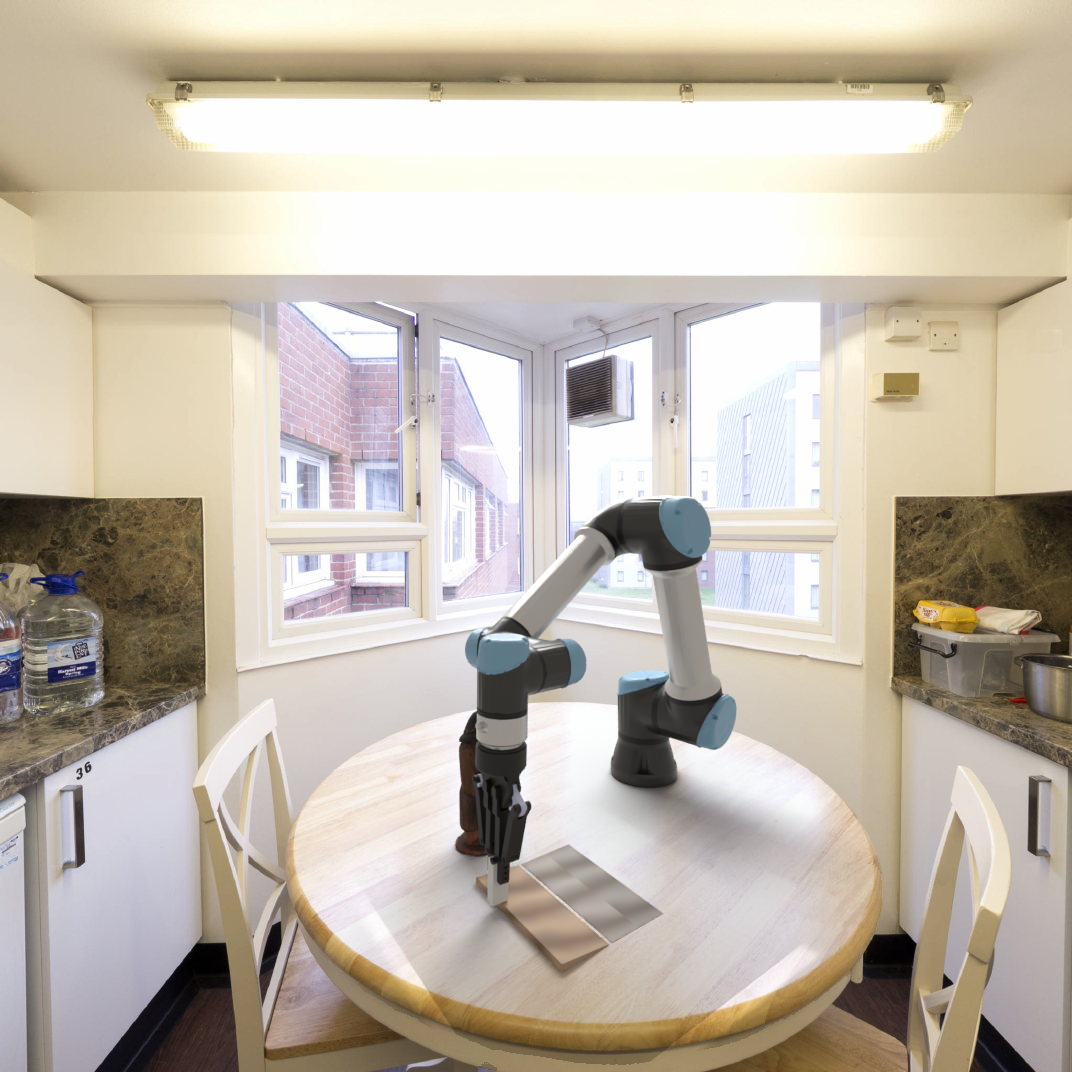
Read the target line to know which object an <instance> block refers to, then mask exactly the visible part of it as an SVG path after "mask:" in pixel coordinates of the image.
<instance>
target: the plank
mask: <svg viewBox="0 0 1072 1072" xmlns="http://www.w3.org/2000/svg"><path fill="white" fill-rule="evenodd" d="M509 873H510V875H509V887H508V900H507V901H505V902H503V903H500V904H498V905H496V906H497V907H498V909H499V910H501V912H503V914H504V915H505V916H506V917H507V918H509V920H510V921H511V922H512V923H513V924H514V925H515V926H516V927H517V928H518V930H520V931H521V932H522V933H523V934H524V935H525V936H526V937H527V939H529V940H530V941H531V943H533V944H534V946H535V947H537V949H539V951H540V952H541V953H543V955H544V956H545V958H547V959H548V960H549V961H550V962H551V964H553V966H555V968H557V970H559V971H560V973H563V972H564V971H566V970H567V969H570V968H571V967H573V966H575V965H576V964H578V963H580V962H581V961H583V960H585V959H587V958H589V957H590V956H592V955H594V954H596V953H597V952H598V951H601V950H603V949H604V948H606V947H607V946H609V943H608V942H607V941H606V940H605V939H604V938H602V937H601V936H600V935H599V934H598V933H596V931H595V930H593V929H592V928H591V926H588V925H587V924H586V922H584V920H582V919H580V917H578V916H577V915H576V914H575V913H574V912H572V911H571V909H569V908H568V907H567V906H566V905H565V904H564V903H562V902H561V901H560V900H559V899H558V898H556V897H555V896H554V895H553V894H552V893H551V892H550V891H548V889H546V888H545V887H544V886H543V885H542V884H541V883H539V882H538V881H537V880H536V879H535V878H534V877H532V875H530V874H529V873H528V872H527V871H526V870H525V869H523V868H522V866H520V865H519V864H518V865H515V866H510V872H509ZM475 884H476V886H477V887H478V888H479V889H480V890H481V891H482V892H483V893H484V894H485V895H486V896H487V891H488V873H486V874H483V875H478V876H476V878H475Z"/></svg>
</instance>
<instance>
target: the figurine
mask: <svg viewBox="0 0 1072 1072" xmlns="http://www.w3.org/2000/svg"><path fill="white" fill-rule="evenodd" d="M476 723H477V710H476V711H475V710H474V711H473V713H472V714H471V715H470V716H469V718H468V720H467V722H466V725H465V727H464V730H463V732H462V734H461V735H460V737H459V739H458V742H459V743H460V744H459V747H458V758H459V759H458V760H459V762H458V763H459V772H460V773H459V775H460V776H459V777H460V783H461V784H460V787H459V793H458V794H459V795H458V796H459V798H458V799H459V800H458V801H459V803H458V805H459V826H460V829H461V830H463V832H462V833H461V834H460V835H458V836H457V838H455V839H456V840H455V849H456V851H458V853H460V854H463V855H465V856H468V857H469V856H470V857H486V856H488V855H487V854H486V851H485V845H481V844H480V841H479V831H478V819H477V808H476V796H475V789H474V785H473V781H472V776H474V775H478V774H481V772H480V771H479V770H478V769H477V768H476V765H475V757H476V743H477V742H478V740H477V738H476V730H477V729H476V727H475V725H476ZM485 835H486V833H485Z"/></svg>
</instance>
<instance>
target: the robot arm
mask: <svg viewBox="0 0 1072 1072" xmlns="http://www.w3.org/2000/svg"><path fill="white" fill-rule="evenodd" d="M711 537H712V526H711V521H710V518H709V516H708V512H707V511H706V508H705V507H704V506H703V504H702V503H701V502H699V501H698V500H697V499H696V498H693V497H691V496H688V495H687V496H686V495H684V496H683V495H682V496H681V495H676V494H675V495H674V494H670V495H655V496H640V497H639V496H638V497H636V496H635V497H634V496H631V497H630V496H629V497H623V498H620V499H618V500H615V501H613V502H611V503H609V504H608V505H606V506H604V507H603V508H601V509H599V510H598V511H597V512H595V513H594V514H593V515H592V516H590V517H589V518H588V519H587V520H586V521H585V522H584V523H582V525H581V526H580V527H579V528H578V529H577V530H576V531H575V533H574V535H573V541H572V543H571V544H570V545H568V547H566V549H565V550H564V551H563V552H562V553H561V554H560V555H559V556H558V557H557V558H556V560H555V561H554V562H553V563H552V564H550V566H549V567H548V568H547V569H546V570H545V571H543V574H541V575H540V576H539V577H538V578H537V579H536V581H535V582H533V584H532V585H531V586H530V587H529V588H528V589H527V590H526V591H525V593H523V594H522V596H520V598H519V599H518V600H517V601H516V602H515V603H513V605H512V606H511V607H510V609H508V610H507V611H506V612H505V613H504V614H503V616H502V617H501V618H500V619H499V620H498V621H497V622H496V623H495V624H494V625H493V626H492V627H489V626H488V627H486V626H485V627H479V628H476V629H474V630H473V631H472V632H471V633H470V634H469V636H468V637H467V640H466V641H465V646H464V653H465V655H464V656H465V658H466V660H467V663H468V664H470V665H471V667H473V668H474V669H476V711H477V723H476V725H475V727H476V729H477V730H476V738H477V740H478V742H477V743H476V757H475V765H476V768H477V769H478V770H479V771H480V772H481V774H478V775H474V776H472V781H473V785H474V789H475V796H476V808H477V819H478V831H479V841H480V844H481V845H485V851H486V854H487V855H486V856H487V874H488V891H487V895H486V896H487V897H486V898H487V899H486V901H487V903H488V904H489V905H490V906H491V907H496V906H497V905H498V904H500V903H503V902H505V901H507V900H508V887H509V875H510V873H509V872H510V867H511V865H510V864H511V863H513V862H516V861H518V860H520V858H521V854H522V853H521V852H522V847H523V843H524V842H523V840H524V837H525V836H524V835H525V829H526V824H527V819H528V818H527V817H528V815H529V814H530V813H531V810H532V804H531V801H530V800H526V801H525V800H524V798H523V797H522V795H521V792H522V786H521V780H520V776H521V774H522V772H524V770H525V769H526V767H527V762H528V760H527V758H528V757H527V753H528V751H527V750H528V745H527V742H526V741H527V739H528V725H529V724H528V722H529V721H528V717H529V716H528V715H529V712H528V710H529V696H532V695H536V694H540V693H546V692H549V691H553V690H557V689H565V688H567V687H569V686H572V685H574V684H577V683H579V682H580V681H581V680H582V679H583V678H584V676H585V674H586V673H587V671H586V670H587V657H586V656H587V655H586V653H585V651H584V648H583V647H582V646H581V644H579V643H578V642H577V641H576V640H574V639H572V638H563V639H562V638H556V639H554V640H548V639H542V638H541V637H542V635H543V634H544V633H545V632H546V631H547V630H548V629H549V627H550V626H551V625H552V624H553V623H554V621H556V619H557V618H558V617H559V616H560V615H561V613H562V612H563V611H564V610H565V609H566V608H567V606H568V605H569V604H570V603H571V602H572V601H573V600H574V599H575V597H576V596H578V594H579V593H580V592H581V590H582V589H583V588H584V587H585V586H586V585H587V584H588V583H589V581H590V580H591V579H592V578H593V577H594V576H595V575H596V573H597V572H598V571H599V570H600V568H601V567H603V566H605V567H606V566H609V565H610V564H612V563H613V561H614V560H615V559H616V558H617V557H619V556H622V555H627V554H633V555H634V554H635V555H636V554H637V555H641V559H642V567H643V569H644V570H646V571H647V572H648V573H650V574H651V575H652V579H653V585H654V591H655V595H656V596H655V597H656V602H657V608H658V614H659V620H660V624H661V625H660V626H661V631H662V637H663V643H664V650H665V654H666V655H665V656H666V662H667V667H668V672H666V671H664V670H653V669H652V670H648V669H647V670H637V671H631V672H628V673H625V674H623V675H622V676H620V677H619V679H618V682H617V683H618V687H617V693H616V694H617V740H616V743H615V747H614V750H613V755H612V756H611V758H610V773H611V775H612V776H613V778H615V779H616V780H618V781H619V782H622V783H624V784H626V785H631V786H635V787H642V788H644V787H646V788H656V787H658V788H659V787H663V786H667V785H669V784H671V783H673V782H675V781H676V780H677V777H678V764H677V761H676V759H675V757H674V752H673V749H672V745H671V743H670V738H671V739H673V740H676V741H679V742H683V743H685V744H689V745H691V746H694V747H695V746H696V747H697V748H699V749H702V748H704V749H707V750H712V751H716V750H719V749H721V748H722V747H723V746H724V745H726V743H727V742H728V740H729V739H730V737H731V736H732V733H733V730H734V727H735V724H736V719H737V708H738V707H737V702H736V700H735V698H734V697H732V695H729V693H728V694H727V693H723V687H722V682H721V679H720V677H718V676H717V675H715V674H714V673H713V672H712V665H711V660H710V659H711V658H710V652H709V646H708V645H709V644H708V638H707V632H706V631H707V630H706V625H705V619H704V612H703V607H702V599H701V592H700V586H699V579H698V578H699V577H698V574H697V573H698V572H697V568H698V566H699V565H700V564H702V561H703V556H704V555H705V554H706V553H707V551H708V550H709V547H710V545H711V540H710V538H711ZM485 833H486V835H485Z"/></svg>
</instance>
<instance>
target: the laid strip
mask: <svg viewBox="0 0 1072 1072" xmlns="http://www.w3.org/2000/svg"><path fill="white" fill-rule="evenodd" d="M521 866H522V867H524V868H525V869H526V870H527V871H528V872H529V873H531V874H532V876H534V877H535V878H537V880H539V881H540V882H541V883H542V884H543V885H544V886H546V887H547V888H548V889H549V890H550V891H551V892H553V893H554V894H555V895H556V896H557V897H558V898H559V899H561V900H562V901H563V902H564V903H565V904H567V905H568V906H569V907H570V908H571V909H572V910H573V911H574V912H575V913H577V914H578V915H579V916H580V917H581V918H582V919H584V920H585V921H586V922H587V923H588V924H590V925H591V926H592V927H593V928H594V929H595V930H596V931H598V932H599V933H600V934H601V935H602V936H603V937H605V938H606V939H607V940H608V942H611V943H612V944H613V943H615V942H617V941H618V940H620V939H622V938H623V937H625V936H627V935H628V934H630V933H632V932H633V931H635V930H638V929H639V928H640V927H642V926H644V925H646V924H647V923H649V922H651V921H653V920H654V919H656V918H658V917H660V916H662V915H663V914H664V913H663V912H662V911H661V910H659V909H658V908H657V907H655V906H654V905H653V904H651V903H650V902H648V901H647V900H646V899H644V898H643V897H641V896H640V895H639V894H637V893H636V892H635V891H633V890H632V889H631V888H629V887H628V886H627V885H625V884H624V883H622V882H621V881H620V880H618V879H617V878H616V877H614V876H612V875H611V874H610V873H608V872H607V871H606V870H604V868H602V867H600V866H599V865H598V864H596V863H595V862H594V861H592V860H591V859H589V858H588V857H587V856H585V855H584V854H582V853H581V852H579V851H578V850H576V848H574V847H573V846H572V845H570V844H566V845H564V846H561V847H559V848H556V849H554V850H551V851H549V852H547V853H545V854H542V855H540V856H537V857H535V858H532V859H530V860H528V861H526V862H523V863H521Z"/></svg>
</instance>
